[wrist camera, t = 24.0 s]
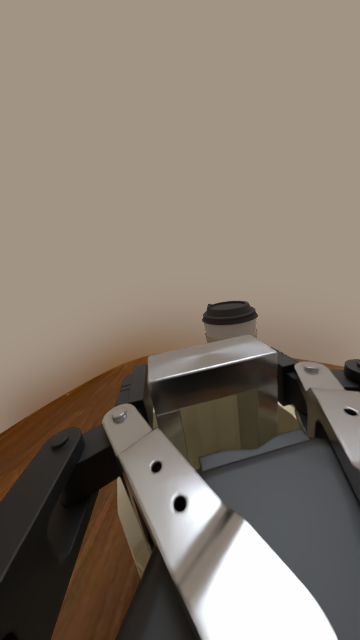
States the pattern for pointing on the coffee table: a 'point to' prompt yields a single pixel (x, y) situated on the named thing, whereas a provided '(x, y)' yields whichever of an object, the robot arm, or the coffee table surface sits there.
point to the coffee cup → (229, 320)
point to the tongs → (217, 386)
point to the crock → (196, 454)
